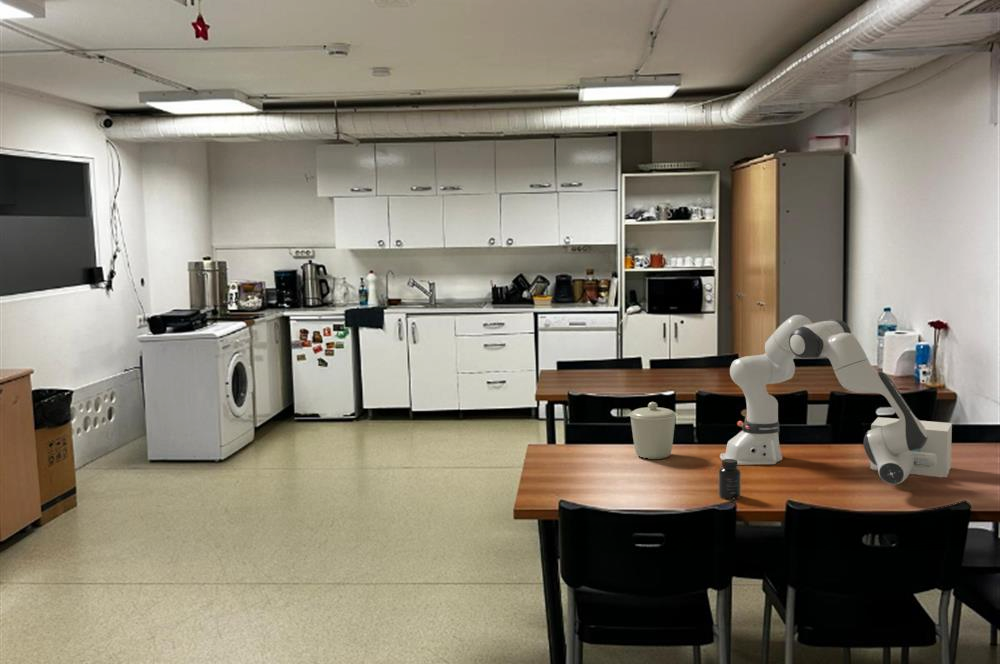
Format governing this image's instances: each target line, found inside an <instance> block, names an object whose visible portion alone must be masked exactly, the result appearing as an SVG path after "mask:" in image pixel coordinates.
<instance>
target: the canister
mask: <svg viewBox="0 0 1000 664" xmlns="http://www.w3.org/2000/svg"><path fill="white" fill-rule="evenodd" d="M628 416H629V417H630V423H631V424H630V426H631V431H632V439H633V445H634V451H635V454H636V455H637V456H638V457H639V456H640V458H641V457H643V458H642V459H645V458H648V459H647V460H662V459H666V458H668V457H669V456H670V455H671V454H672V453H671V452H672V449H673V443H674V433H675V427H676V426H675V424H676V418H677V416H678V414H677V413H676V412H675V411H674V410H672V409H670V408H665V407H658V403H657V402H656V401H655V402H654V401H651V402H649V403H648V404H647V407H639V408H636V409H634V410H632V411H631V412H629V413H628Z"/></svg>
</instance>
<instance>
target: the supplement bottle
mask: <svg viewBox="0 0 1000 664" xmlns="http://www.w3.org/2000/svg"><path fill="white" fill-rule="evenodd" d="M738 466H739V465H737V460H734V459H724V460H722V459H721V468H719V470H718V495H719V497H720V498H721V499H723V498H725V499H724V500H729V499H733V498H738V497H740V498H741V496H742V494H741V492H742V490H741V487H742V486H741V485H742V483H741V480H742V478H741V477H742V475H741V470H740V469H739V468H738ZM738 499H739V498H738Z"/></svg>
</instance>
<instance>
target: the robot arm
mask: <svg viewBox="0 0 1000 664" xmlns="http://www.w3.org/2000/svg"><path fill="white" fill-rule="evenodd" d="M764 351H765V353H762V354H757V355H746V356H742V357H740V358H737V359H734V360H733V361H732V362H731V365H730V367H729V376H730V378H731V380H732V381H733V382H734V384H735V385H737V386H738V387H739V388H740V389H741V390H742V393H743V395H744V397H745V403H746V415H747V420H746V421H745V420H744V422H743V421H742V420H739V421H737V423H736V424H737V427H740V428H741V429H742V430H740V431H739V432H738V433H737V434H736V435H734V436H733V437H732V438H730V439H729V440H728V441H727V444H726V449H725V452H722V453H720V454H719V458H720V459H721V461H722V460H724V459H734V460H737V465H738V466H741V465H745V466H746V465H747V466H749V465H776V464H777V463H778V462H781V461H782V460H783V456H782V451H781V447H780V441H779V439H780V438H779V436H780V422H779V403H778V400H777V399H776V397H775V396H773V395H772V394H769V393H768V391H767V390H768V389H767V385H771V384H779V383H783V382H785V381H789V380H791V379H792V378H793V377H794V375H795V371H796V365H795V362H794V359H795V358H796V357H798V358H801V359H818V358H820V357H821V356H824V357H826V358H827V359H828V360H829V361H830V365H831V366H832V369H833V371H834V374H835V376H836V378H837V380H838V383H839V384H840V385H841V387H842V388H844V389H846V390H847V391H850V392H855V393H874V394H880V395H882V396H883V397H884V398H886V400H887V402H888V403H889V404H890V406H891V408H892V409H893V411H894V412H895V413H896V415H897V417H898V419H899V420H898V421H897V422H894V423H891V424H888V425H885V426H881V427H878V428H875V429H872V430H871V429H869V430H867V431H866V432H865V435H864V437H863V447H864V451H865V453H866V456H867V457H868V459H869V464H870V463H871V468H874V469H878V470H877V472H878V475H879V478H880V479H881V480H882V481H883V482H885V483H886V484H889V485H898V484H899V485H900V484H901V483H903V482H904V481H906V479H908V477H909V475H911V474H910V472H911V470H912V469H913V467H920V468H932V467H934V466H935V465H936V461H937V455H936V454H934V453H926V452H916V451H911V450H916V449H920V448H922V447H923V446H924V444H925V443H926V441H927V438H928V436H927V432H926V429H925V428H924V426H923V425H922V423H921V422H920V421H921V420H920V419H919V418H918V417H917V416H916V414H915V413H914V412H913V410H912V409H911V407H910V406H909V405H908V403H907V401H906V400H905V398H904V397H903V396H902V394H901V392H900V390H899V389H898V388H897V387H896V385H895V384H894V382H893V381H892V380H891V378H890V377H889V376H888V374H886V373H885V372H883V371H878V370H877V369H875V367H874V366H873V365H872V364H871V363H870V361H869V359H868V356H867V354H866V352H865V350H864V349H863V347H862V345H861V344H860V342H859V340H858V339H857V337H856V336H855V335H854V334H853V333H852V331H851V329H850V326H849V325H848V324H847V323H846V322H845V321H843V320H840V319H827V320H821V321H817V322H812V321H811V320H810V318H808V317H807V316H805V315H802V314H794V315H792V316H790V317H788V318H787V319H786V320H785V321H783V322H782V323H781V324H780V325H779V326H778V327H777V328H776V329H775V331H774V332H773V333H772V334H771V336H770V337H769V338H768V339H767V340H766V341H765V344H764Z"/></svg>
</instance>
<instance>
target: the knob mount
mask: <svg viewBox="0 0 1000 664" xmlns="http://www.w3.org/2000/svg"><path fill="white" fill-rule="evenodd" d="M898 420H899V418H895V417H894V418H893V417H892V418H891V417H882V416H881V417H880V416H877V418H876V419H875V420H873V422H872V423H871V425H870V430H872V429H875V428H878V427H881V426H885V425H888V424H891V423H894V422H897V421H898ZM919 421H920V422H921V423H922V425H923V426H924V428H925V429H926V432H927V436H928V438H927V441H926V443H925V444H924V446H923V447H922V448H921V452H926V453H934V454H936V455H937V461H936V465H935V466H934V467H932V468H920V467H913V469H912V470H911V472H910V474H909V475H915V474H916V476H927V477H934V476H935V477H937V478H943V477H946V478H945V479H947V477H948V476H949V473H950V471H949V470H951V468H952V464H951V463H952V439H953V438H952V436H953V435H952V432H953V431H952V430H953V429H952V428H953V425H952V424H953V422H952V423H951V422H944V421H942V422H941V421H929V420H928V421H927V420H919ZM869 466H870V469H872V471H878V469H874V468H871V463H870V462H869ZM870 469H869V470H870Z"/></svg>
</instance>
